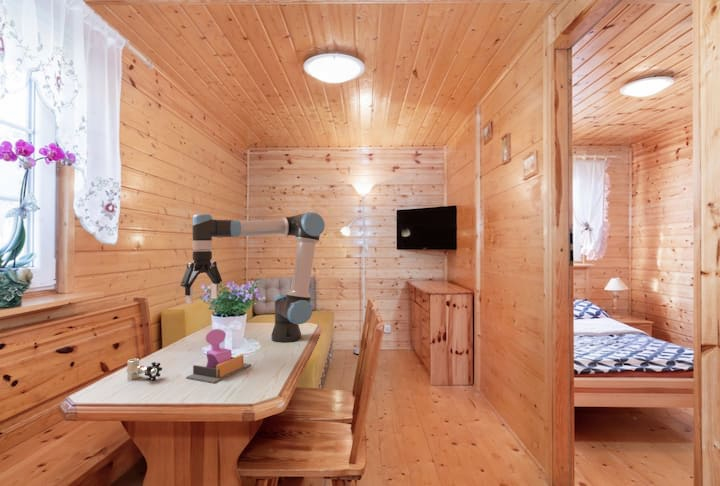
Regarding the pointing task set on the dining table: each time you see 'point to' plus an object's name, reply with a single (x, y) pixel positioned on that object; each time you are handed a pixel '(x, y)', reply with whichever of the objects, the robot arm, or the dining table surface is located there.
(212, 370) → the grey and orange tray
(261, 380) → the dining table surface
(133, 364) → the valve
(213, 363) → the toy chair
